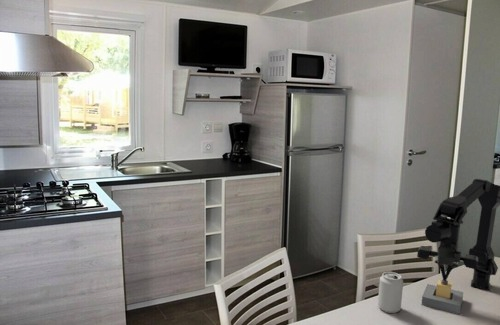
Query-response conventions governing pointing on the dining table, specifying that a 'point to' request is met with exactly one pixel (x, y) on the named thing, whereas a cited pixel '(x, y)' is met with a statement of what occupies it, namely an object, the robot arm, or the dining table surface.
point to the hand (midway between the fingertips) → (444, 280)
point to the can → (390, 292)
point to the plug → (443, 289)
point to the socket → (442, 300)
